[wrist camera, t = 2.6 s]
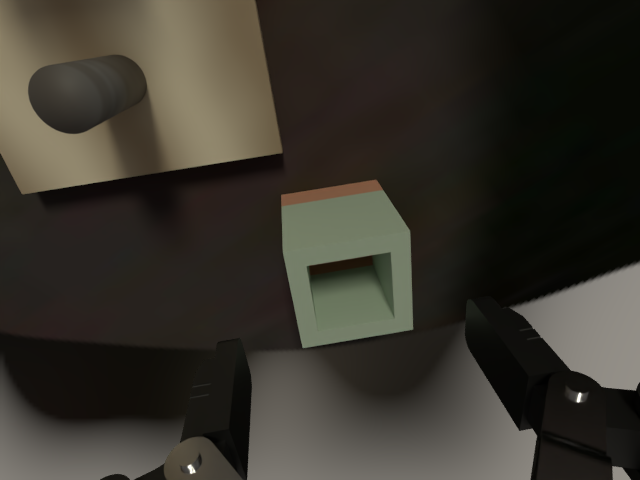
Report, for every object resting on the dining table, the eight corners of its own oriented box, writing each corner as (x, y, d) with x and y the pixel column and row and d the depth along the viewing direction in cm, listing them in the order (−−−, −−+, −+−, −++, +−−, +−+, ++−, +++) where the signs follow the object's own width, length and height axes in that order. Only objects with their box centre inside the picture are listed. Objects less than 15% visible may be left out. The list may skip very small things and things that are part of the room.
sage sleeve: (376, 179, 21) (410, 231, 16) (381, 261, 23) (412, 329, 18) (281, 194, 21) (282, 251, 16) (296, 275, 23) (302, 348, 18)
